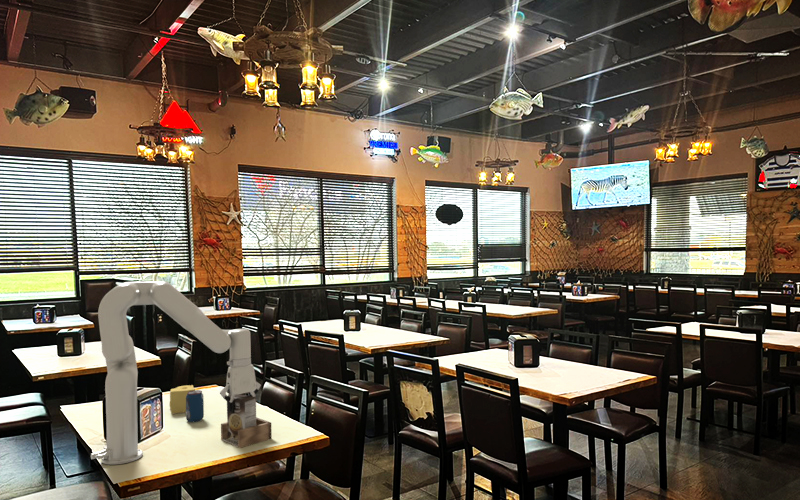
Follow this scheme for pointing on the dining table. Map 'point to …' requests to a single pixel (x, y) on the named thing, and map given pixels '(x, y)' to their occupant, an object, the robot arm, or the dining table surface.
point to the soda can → (194, 406)
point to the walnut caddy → (249, 433)
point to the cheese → (179, 398)
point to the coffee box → (241, 416)
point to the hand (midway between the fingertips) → (241, 409)
